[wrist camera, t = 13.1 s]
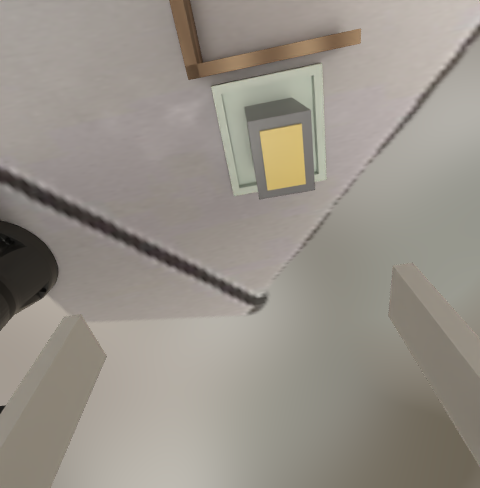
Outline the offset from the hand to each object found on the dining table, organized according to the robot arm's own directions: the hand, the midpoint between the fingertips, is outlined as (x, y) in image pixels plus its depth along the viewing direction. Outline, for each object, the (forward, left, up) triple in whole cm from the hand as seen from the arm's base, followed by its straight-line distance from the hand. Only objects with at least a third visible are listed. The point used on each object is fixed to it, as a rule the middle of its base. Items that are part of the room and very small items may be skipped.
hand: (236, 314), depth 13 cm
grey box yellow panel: (+5, 0, -32) cm, 32 cm away
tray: (+5, 0, -33) cm, 33 cm away
